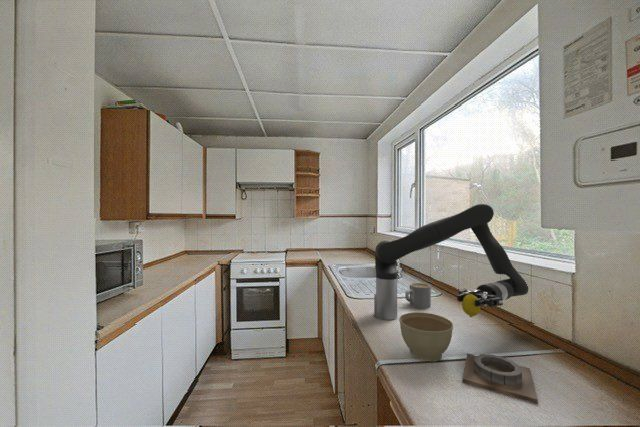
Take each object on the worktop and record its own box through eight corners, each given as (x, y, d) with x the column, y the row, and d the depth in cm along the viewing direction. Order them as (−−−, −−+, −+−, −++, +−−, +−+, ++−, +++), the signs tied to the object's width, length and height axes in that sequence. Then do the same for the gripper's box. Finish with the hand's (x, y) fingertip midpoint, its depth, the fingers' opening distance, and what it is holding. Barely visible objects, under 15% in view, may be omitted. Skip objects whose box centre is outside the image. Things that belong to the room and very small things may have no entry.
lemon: (482, 320, 92) (483, 296, 92) (464, 319, 93) (465, 295, 93) (477, 314, 97) (477, 292, 97) (460, 313, 99) (460, 291, 99)
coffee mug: (424, 301, 144) (424, 282, 145) (434, 307, 135) (434, 287, 135) (399, 302, 142) (399, 283, 143) (408, 309, 133) (408, 288, 133)
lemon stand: (462, 382, 74) (462, 369, 74) (466, 356, 88) (466, 345, 88) (537, 403, 66) (537, 388, 66) (529, 371, 80) (529, 359, 80)
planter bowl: (389, 347, 94) (389, 315, 94) (427, 340, 100) (427, 309, 100) (422, 372, 79) (422, 334, 79) (465, 362, 85) (465, 326, 85)
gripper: (472, 279, 109) (447, 285, 100) (513, 287, 97) (489, 295, 88) (472, 298, 109) (447, 305, 100) (513, 309, 97) (489, 318, 88)
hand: (467, 300), depth 94 cm, fingers closed on lemon, 5 cm apart
